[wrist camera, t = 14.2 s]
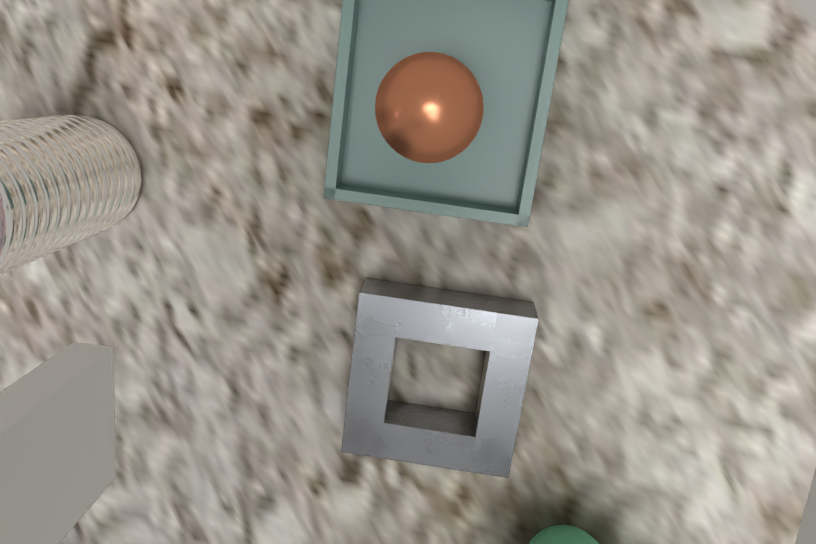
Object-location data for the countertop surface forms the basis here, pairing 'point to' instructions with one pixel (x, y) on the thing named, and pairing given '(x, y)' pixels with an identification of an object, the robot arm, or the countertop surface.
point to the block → (427, 426)
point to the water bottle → (61, 184)
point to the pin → (429, 107)
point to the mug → (562, 536)
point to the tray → (502, 99)
